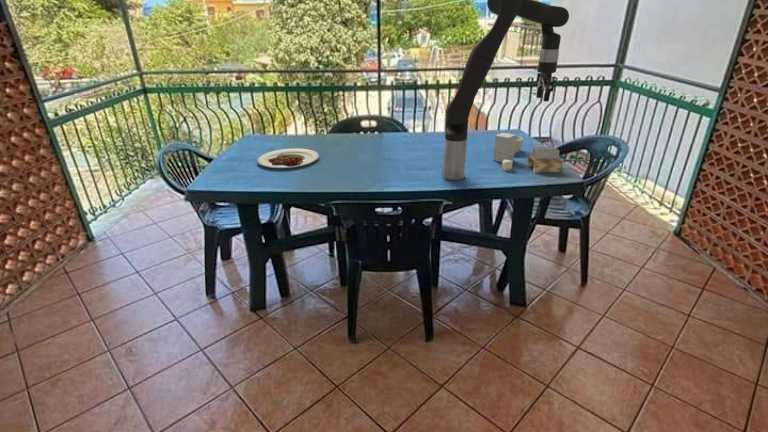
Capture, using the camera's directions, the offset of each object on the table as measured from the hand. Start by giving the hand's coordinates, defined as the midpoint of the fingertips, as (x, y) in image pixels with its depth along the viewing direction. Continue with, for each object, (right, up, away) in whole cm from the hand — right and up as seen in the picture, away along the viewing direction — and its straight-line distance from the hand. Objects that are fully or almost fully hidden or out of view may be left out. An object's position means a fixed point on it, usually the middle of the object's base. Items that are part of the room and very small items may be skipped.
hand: (542, 99), depth 181 cm
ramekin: (-5, -18, +33) cm, 38 cm away
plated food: (-118, -24, +25) cm, 123 cm away
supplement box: (-12, -24, +20) cm, 33 cm away
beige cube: (-13, -30, +8) cm, 34 cm away
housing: (+3, -25, +6) cm, 26 cm away
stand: (+4, -30, +8) cm, 31 cm away
